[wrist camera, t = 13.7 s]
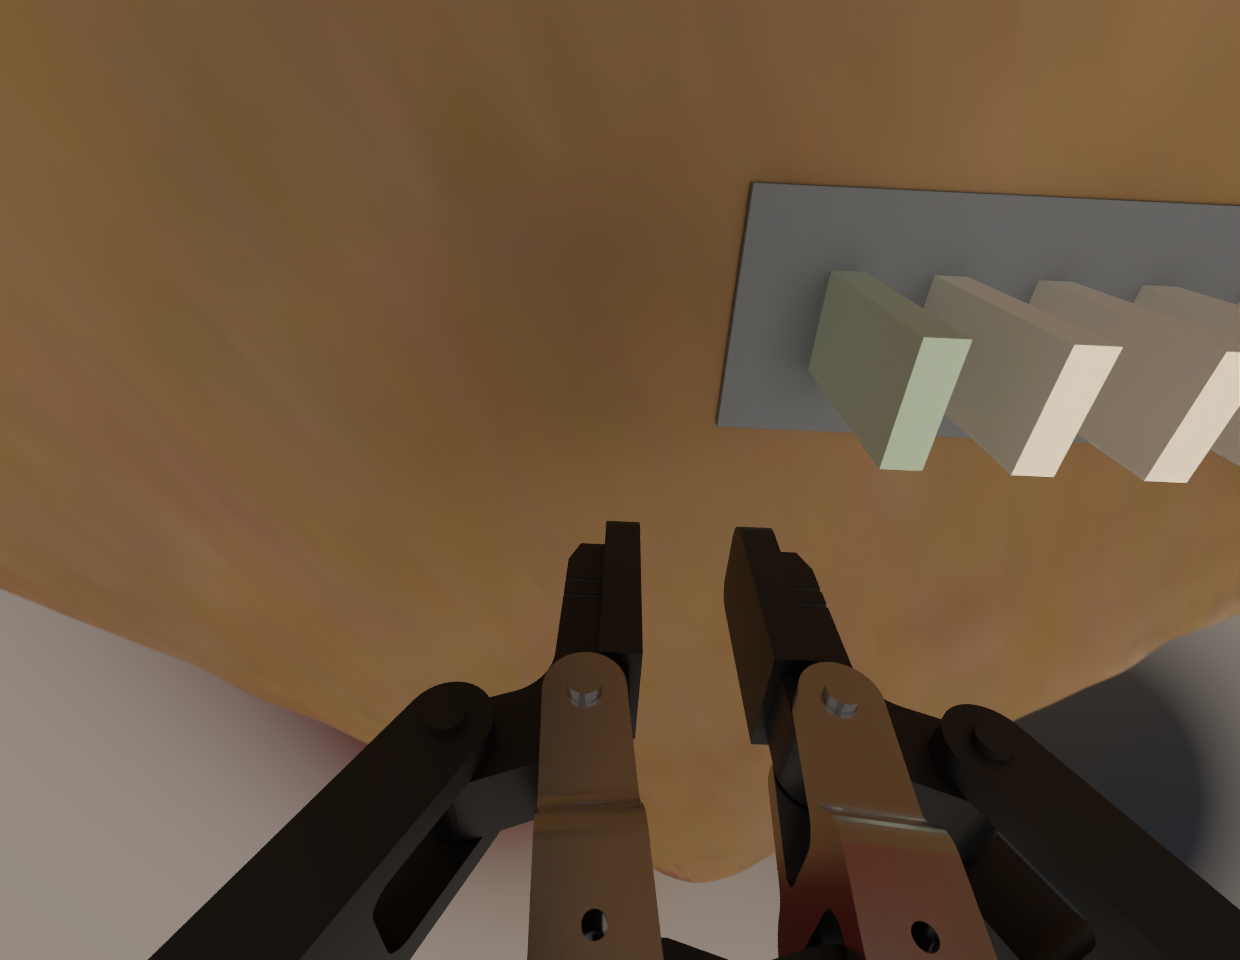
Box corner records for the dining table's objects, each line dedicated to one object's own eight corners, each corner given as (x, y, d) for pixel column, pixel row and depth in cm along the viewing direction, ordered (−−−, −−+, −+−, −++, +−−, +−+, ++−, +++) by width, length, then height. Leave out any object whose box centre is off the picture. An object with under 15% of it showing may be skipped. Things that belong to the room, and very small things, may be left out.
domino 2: (901, 374, 29) (1010, 475, 21) (934, 275, 27) (1074, 344, 18) (932, 375, 29) (1053, 477, 21) (967, 276, 27) (1123, 346, 18)
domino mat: (716, 422, 32) (717, 426, 31) (751, 181, 25) (753, 183, 25) (1331, 450, 32) (1341, 454, 31) (1521, 218, 26) (1536, 220, 25)
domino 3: (997, 378, 29) (1143, 481, 21) (1038, 280, 27) (1226, 351, 18) (1027, 380, 29) (1186, 482, 21) (1072, 281, 27) (1275, 353, 18)
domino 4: (1091, 383, 30) (1276, 486, 21) (1142, 284, 27) (1378, 358, 18) (1121, 384, 30) (1318, 488, 21) (1175, 286, 27) (1426, 360, 18)
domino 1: (807, 369, 29) (879, 468, 21) (831, 269, 27) (923, 337, 18) (838, 371, 29) (922, 470, 21) (864, 271, 27) (972, 339, 18)
